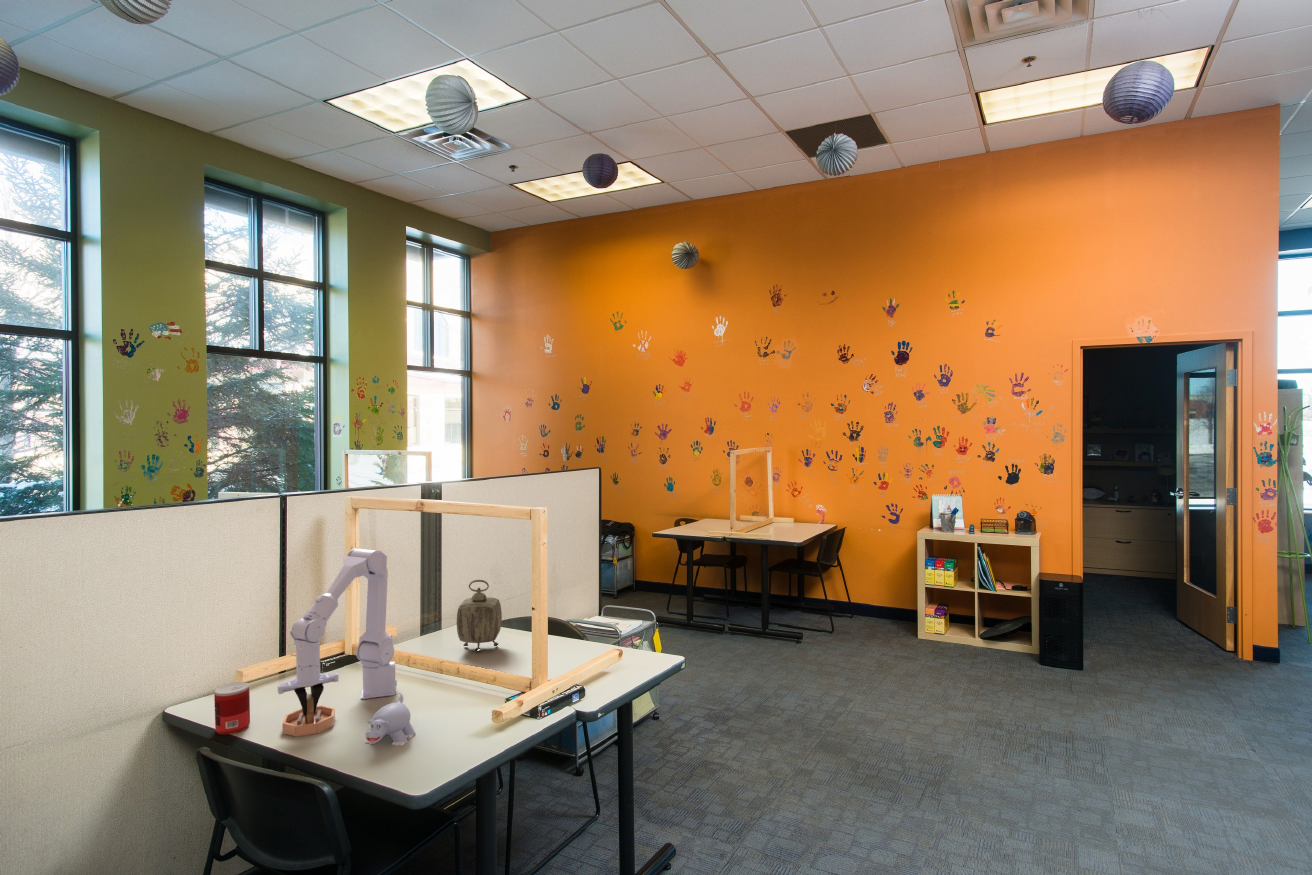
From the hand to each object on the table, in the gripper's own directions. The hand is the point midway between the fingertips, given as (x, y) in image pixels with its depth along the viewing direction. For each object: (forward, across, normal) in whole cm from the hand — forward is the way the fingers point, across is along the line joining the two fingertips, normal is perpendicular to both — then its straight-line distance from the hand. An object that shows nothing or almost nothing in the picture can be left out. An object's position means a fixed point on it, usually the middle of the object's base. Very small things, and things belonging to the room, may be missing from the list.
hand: (309, 713), depth 186 cm
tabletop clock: (+3, -60, -29) cm, 67 cm away
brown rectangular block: (+2, 0, 0) cm, 2 cm away
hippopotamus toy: (+3, -14, +22) cm, 27 cm away
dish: (+3, 0, 0) cm, 3 cm away
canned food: (+3, +17, -10) cm, 20 cm away
